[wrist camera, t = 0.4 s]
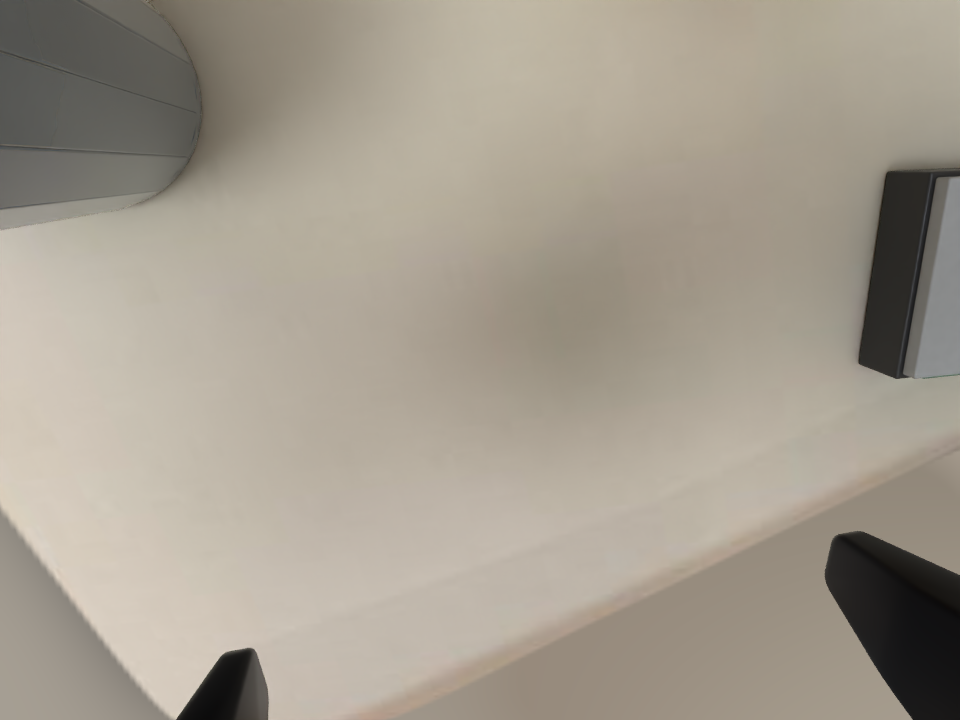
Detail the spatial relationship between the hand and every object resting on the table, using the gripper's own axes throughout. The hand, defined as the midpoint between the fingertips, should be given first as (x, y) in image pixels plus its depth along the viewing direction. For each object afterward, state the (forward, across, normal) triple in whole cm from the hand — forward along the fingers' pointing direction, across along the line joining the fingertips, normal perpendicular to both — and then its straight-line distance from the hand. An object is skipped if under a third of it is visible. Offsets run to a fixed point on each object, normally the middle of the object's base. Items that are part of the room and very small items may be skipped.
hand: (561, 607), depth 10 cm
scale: (+14, -21, +1) cm, 25 cm away
